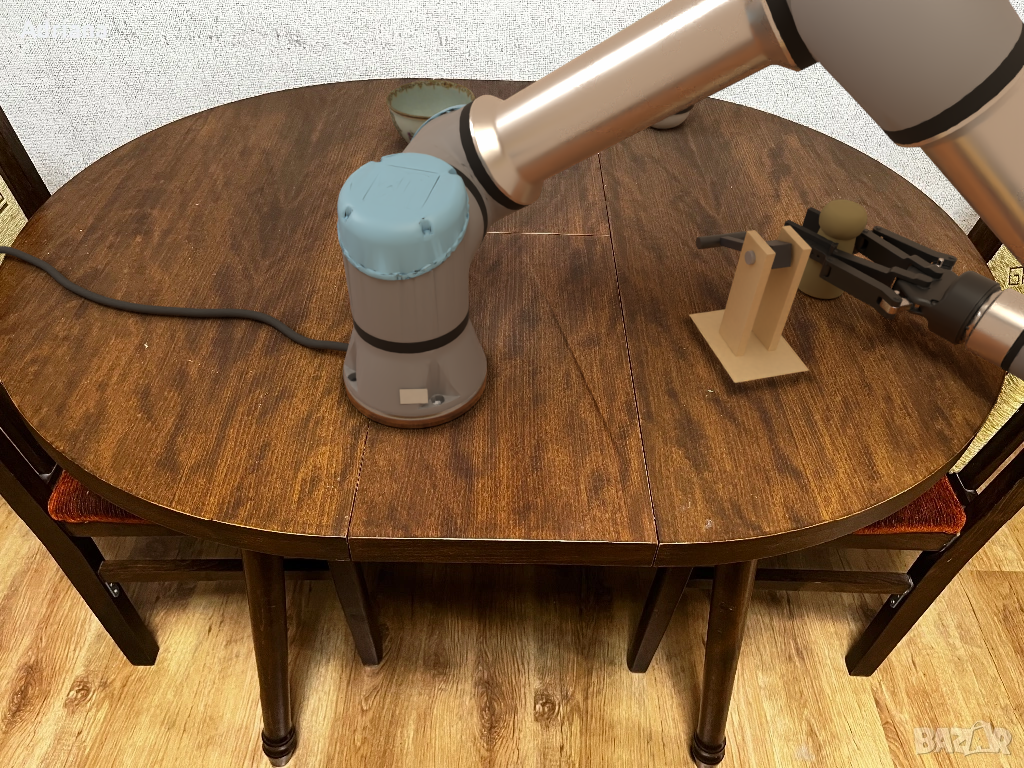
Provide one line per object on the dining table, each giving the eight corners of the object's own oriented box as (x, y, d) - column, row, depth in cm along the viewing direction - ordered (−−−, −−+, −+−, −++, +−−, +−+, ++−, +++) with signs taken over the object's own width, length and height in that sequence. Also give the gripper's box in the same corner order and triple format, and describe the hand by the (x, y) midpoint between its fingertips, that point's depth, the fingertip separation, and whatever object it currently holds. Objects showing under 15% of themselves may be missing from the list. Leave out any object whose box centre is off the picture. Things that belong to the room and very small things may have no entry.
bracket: (686, 322, 91) (712, 213, 81) (755, 312, 93) (789, 204, 83) (732, 390, 83) (767, 279, 72) (806, 378, 85) (850, 267, 74)
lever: (695, 252, 89) (695, 232, 89) (741, 246, 91) (742, 226, 90) (754, 271, 77) (755, 248, 77) (807, 264, 79) (808, 241, 78)
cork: (846, 302, 92) (879, 223, 85) (795, 294, 93) (823, 216, 85) (841, 273, 97) (872, 195, 89) (792, 266, 97) (818, 189, 90)
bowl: (487, 134, 125) (487, 86, 120) (461, 172, 116) (460, 122, 110) (408, 122, 128) (405, 74, 122) (377, 159, 118) (372, 108, 113)
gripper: (928, 377, 79) (745, 274, 92) (1002, 313, 88) (824, 226, 100) (959, 321, 74) (760, 220, 87) (1034, 259, 82) (843, 174, 95)
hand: (795, 224), depth 94 cm, fingers closed on cork, 4 cm apart
